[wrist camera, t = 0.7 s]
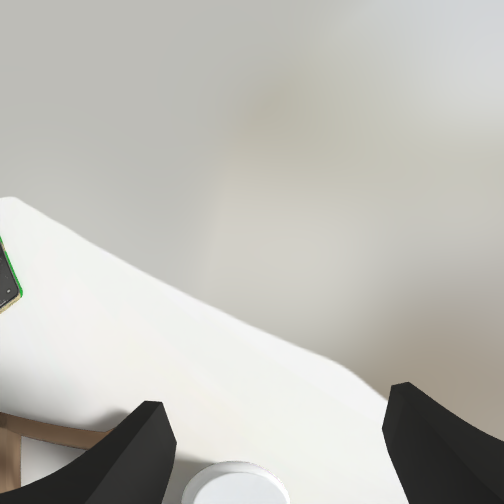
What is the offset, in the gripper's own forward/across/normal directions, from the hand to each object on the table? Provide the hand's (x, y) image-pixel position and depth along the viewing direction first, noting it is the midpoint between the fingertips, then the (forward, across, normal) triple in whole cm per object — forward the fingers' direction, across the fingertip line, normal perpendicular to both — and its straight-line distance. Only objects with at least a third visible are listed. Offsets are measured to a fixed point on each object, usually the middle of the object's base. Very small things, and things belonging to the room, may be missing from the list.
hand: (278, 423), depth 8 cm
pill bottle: (+6, +4, +16) cm, 18 cm away
